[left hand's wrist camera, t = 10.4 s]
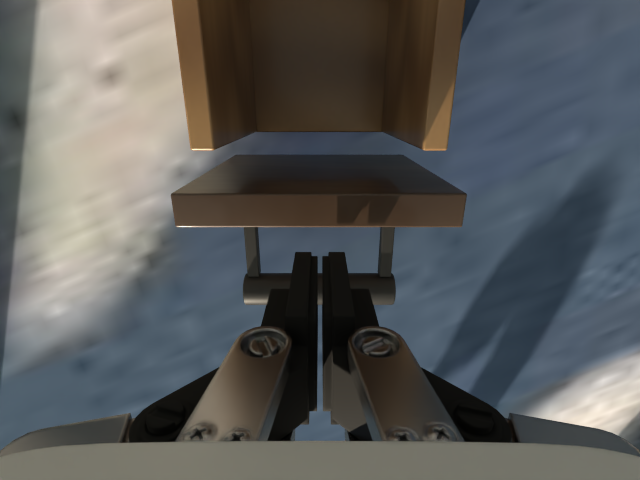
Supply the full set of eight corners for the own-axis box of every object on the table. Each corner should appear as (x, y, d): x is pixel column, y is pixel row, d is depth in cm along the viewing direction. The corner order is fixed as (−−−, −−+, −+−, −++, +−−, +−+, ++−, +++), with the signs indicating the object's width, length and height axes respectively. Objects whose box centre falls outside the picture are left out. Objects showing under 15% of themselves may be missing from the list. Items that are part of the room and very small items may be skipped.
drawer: (394, 265, 24) (441, 368, 14) (244, 265, 24) (196, 368, 14) (442, -322, 14) (659, -1076, 5) (195, -322, 14) (-26, -1076, 5)
